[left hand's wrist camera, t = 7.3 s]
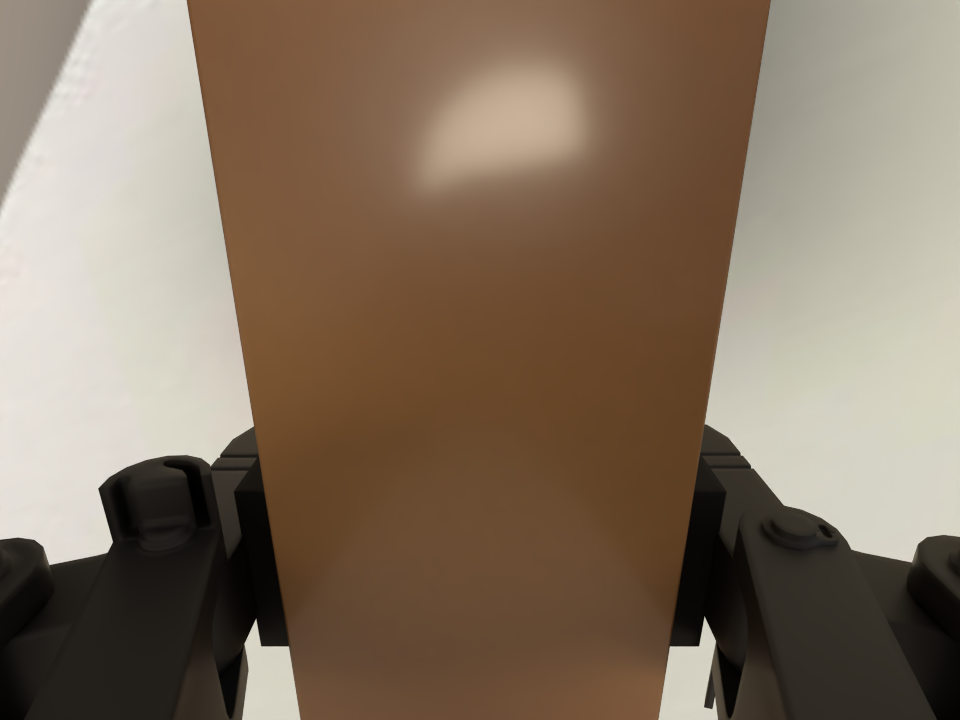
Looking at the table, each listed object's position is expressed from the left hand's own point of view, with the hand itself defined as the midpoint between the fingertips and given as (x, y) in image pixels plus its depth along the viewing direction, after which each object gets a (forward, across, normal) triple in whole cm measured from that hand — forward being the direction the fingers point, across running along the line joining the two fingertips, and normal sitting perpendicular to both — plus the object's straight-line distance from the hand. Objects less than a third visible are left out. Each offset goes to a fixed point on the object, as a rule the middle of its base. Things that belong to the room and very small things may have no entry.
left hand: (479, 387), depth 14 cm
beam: (+1, 0, -23) cm, 23 cm away
